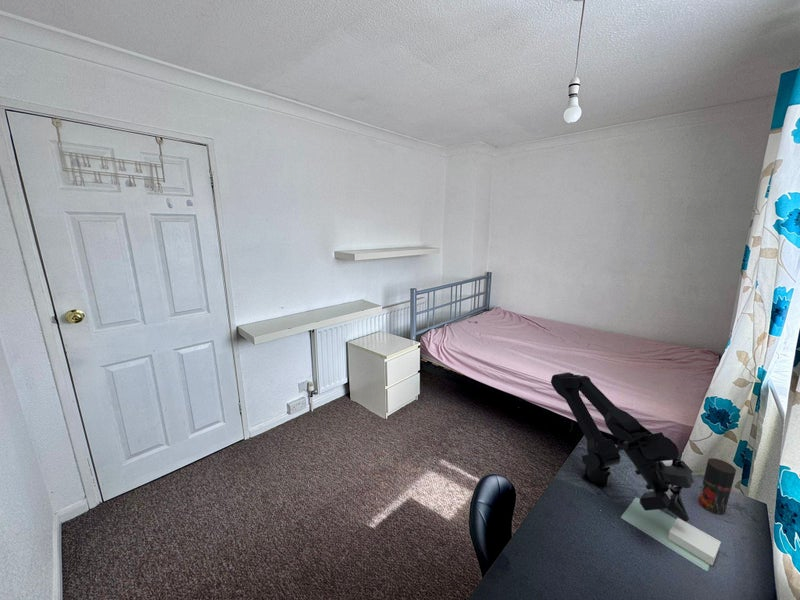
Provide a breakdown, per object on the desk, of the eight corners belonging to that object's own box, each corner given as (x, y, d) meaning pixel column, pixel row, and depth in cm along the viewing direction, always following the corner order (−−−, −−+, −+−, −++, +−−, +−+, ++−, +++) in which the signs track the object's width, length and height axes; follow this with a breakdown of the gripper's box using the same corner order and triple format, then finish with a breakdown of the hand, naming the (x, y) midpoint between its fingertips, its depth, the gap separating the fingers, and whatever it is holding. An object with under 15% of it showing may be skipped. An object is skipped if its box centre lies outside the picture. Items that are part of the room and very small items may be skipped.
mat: (620, 518, 95) (620, 517, 95) (635, 498, 102) (636, 496, 102) (706, 573, 80) (707, 571, 80) (718, 544, 87) (718, 543, 87)
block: (669, 531, 88) (714, 558, 80) (677, 517, 92) (720, 541, 85) (667, 539, 88) (712, 566, 81) (675, 525, 92) (718, 549, 85)
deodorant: (730, 517, 95) (741, 474, 91) (706, 514, 96) (717, 471, 93) (715, 500, 100) (725, 459, 97) (693, 498, 102) (702, 457, 98)
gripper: (661, 471, 82) (711, 539, 76) (683, 442, 93) (728, 499, 86) (621, 479, 90) (664, 541, 84) (646, 450, 101) (685, 504, 94)
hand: (687, 520), depth 87 cm, fingers closed
